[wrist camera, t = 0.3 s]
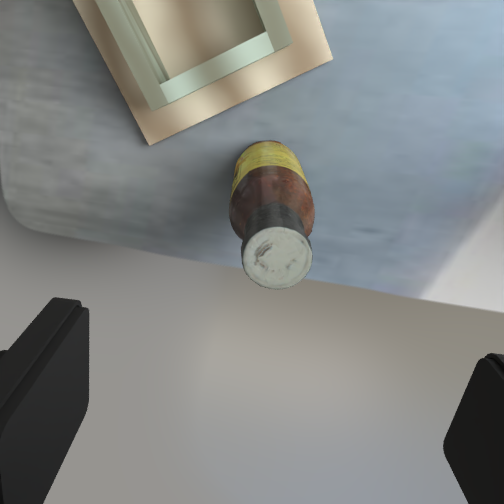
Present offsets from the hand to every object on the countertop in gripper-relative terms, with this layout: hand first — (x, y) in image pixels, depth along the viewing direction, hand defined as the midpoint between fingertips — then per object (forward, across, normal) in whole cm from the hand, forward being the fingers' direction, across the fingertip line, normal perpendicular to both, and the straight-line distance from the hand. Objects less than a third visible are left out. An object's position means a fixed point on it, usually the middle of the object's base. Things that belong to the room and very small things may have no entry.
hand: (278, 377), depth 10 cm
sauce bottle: (+34, -1, +3) cm, 34 cm away
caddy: (+34, +7, -11) cm, 36 cm away
